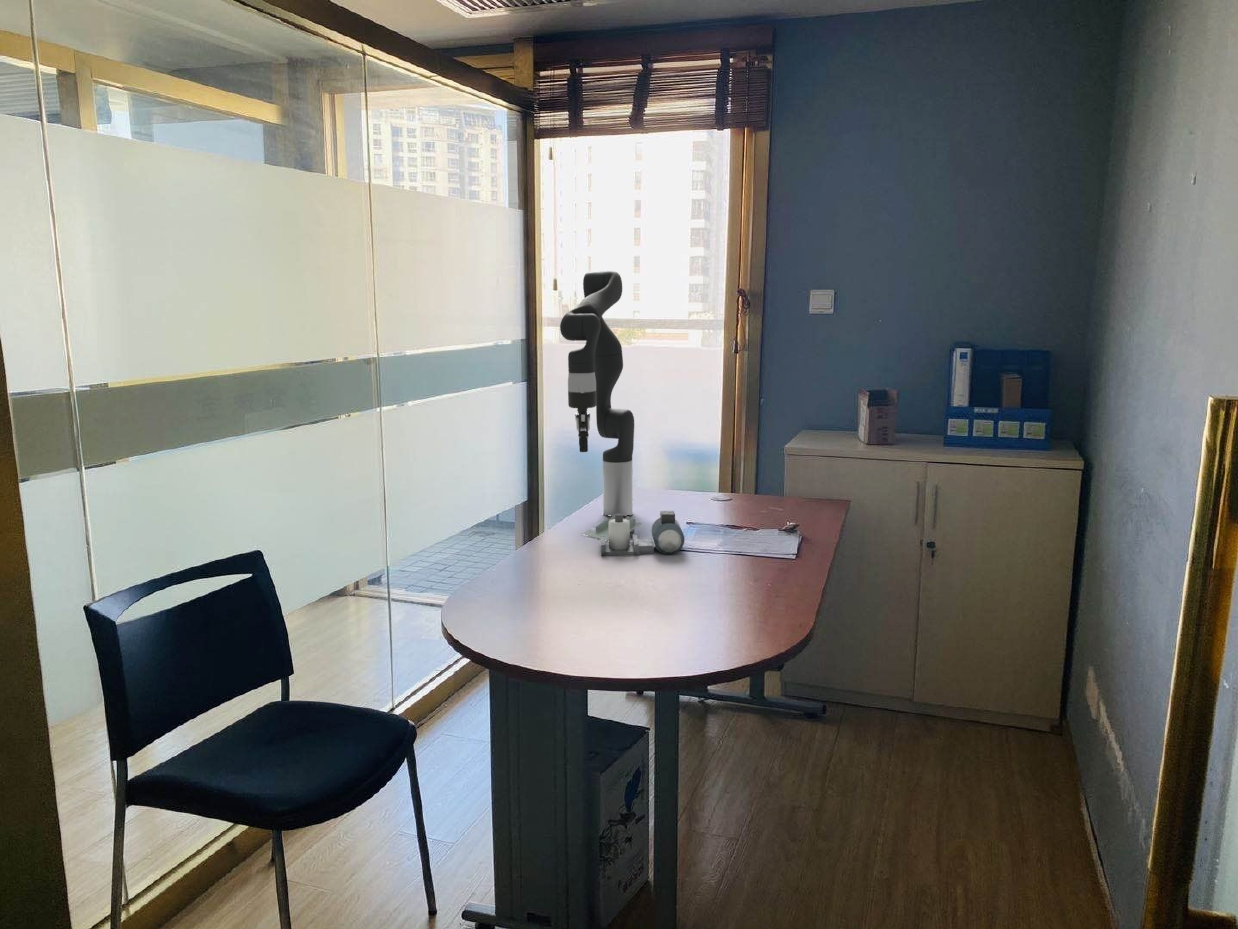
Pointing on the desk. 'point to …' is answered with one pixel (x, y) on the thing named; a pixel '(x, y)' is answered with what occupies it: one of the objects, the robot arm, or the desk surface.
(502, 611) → the desk surface
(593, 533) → the metal bracket
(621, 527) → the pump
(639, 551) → the motor
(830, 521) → the desk surface
